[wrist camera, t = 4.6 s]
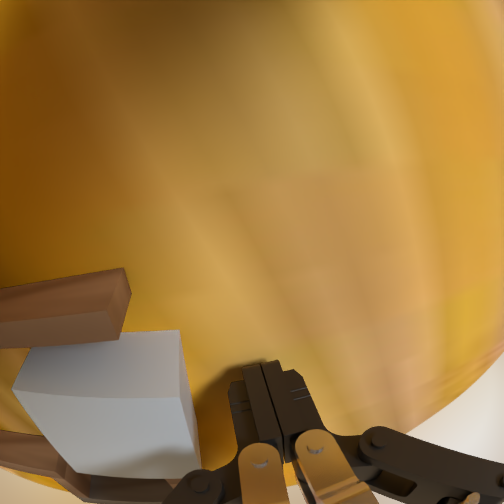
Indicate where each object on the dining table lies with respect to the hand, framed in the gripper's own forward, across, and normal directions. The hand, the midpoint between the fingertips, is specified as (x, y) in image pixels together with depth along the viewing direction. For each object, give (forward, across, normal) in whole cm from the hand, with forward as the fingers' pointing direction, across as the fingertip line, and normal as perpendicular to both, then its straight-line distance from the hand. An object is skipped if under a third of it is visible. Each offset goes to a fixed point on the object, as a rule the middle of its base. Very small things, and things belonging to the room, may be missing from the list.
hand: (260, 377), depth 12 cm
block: (+1, +6, 0) cm, 6 cm away
